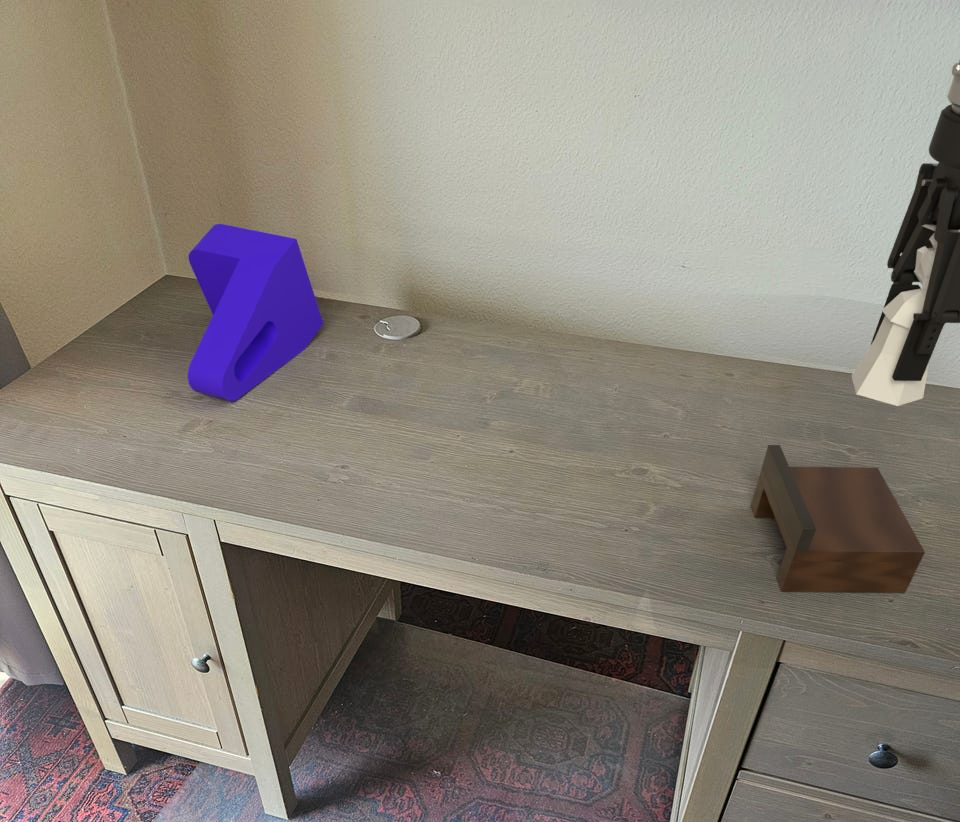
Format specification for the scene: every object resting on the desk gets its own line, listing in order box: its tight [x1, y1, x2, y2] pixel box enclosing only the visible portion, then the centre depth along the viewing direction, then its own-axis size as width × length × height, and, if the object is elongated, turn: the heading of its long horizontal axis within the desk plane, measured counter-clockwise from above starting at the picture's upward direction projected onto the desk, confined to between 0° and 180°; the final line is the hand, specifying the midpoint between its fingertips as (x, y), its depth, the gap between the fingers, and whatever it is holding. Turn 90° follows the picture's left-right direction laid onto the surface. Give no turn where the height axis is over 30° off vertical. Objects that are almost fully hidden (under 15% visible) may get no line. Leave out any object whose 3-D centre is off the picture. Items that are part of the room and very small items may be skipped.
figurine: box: [851, 224, 960, 407], centre depth 85 cm, size 7×8×18 cm
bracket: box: [187, 223, 324, 402], centre depth 129 cm, size 25×15×16 cm
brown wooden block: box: [750, 444, 926, 594], centre depth 99 cm, size 14×16×9 cm
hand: (895, 361), depth 90 cm, fingers closed on figurine, 6 cm apart
